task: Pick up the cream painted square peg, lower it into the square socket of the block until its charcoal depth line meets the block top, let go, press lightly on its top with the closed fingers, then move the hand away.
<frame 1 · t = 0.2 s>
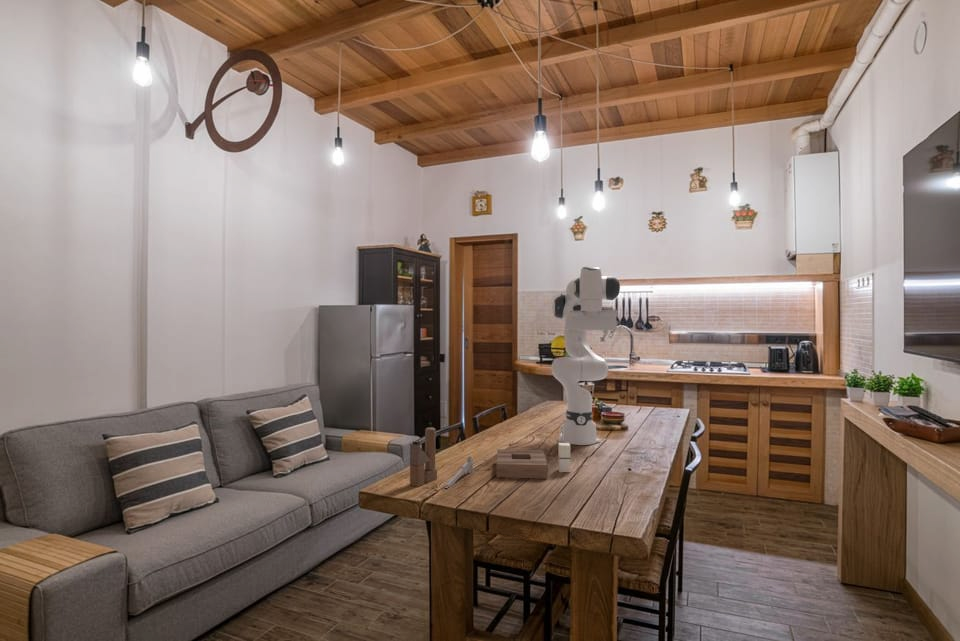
hand: (590, 341, 203), 47 cm above the table, tool pointing down, fingers open, 8 cm apart
socket block: (521, 470, 191), on the table
square peg: (564, 470, 190), on the table
caliper: (459, 481, 179), on the table
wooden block: (423, 482, 176), on the table
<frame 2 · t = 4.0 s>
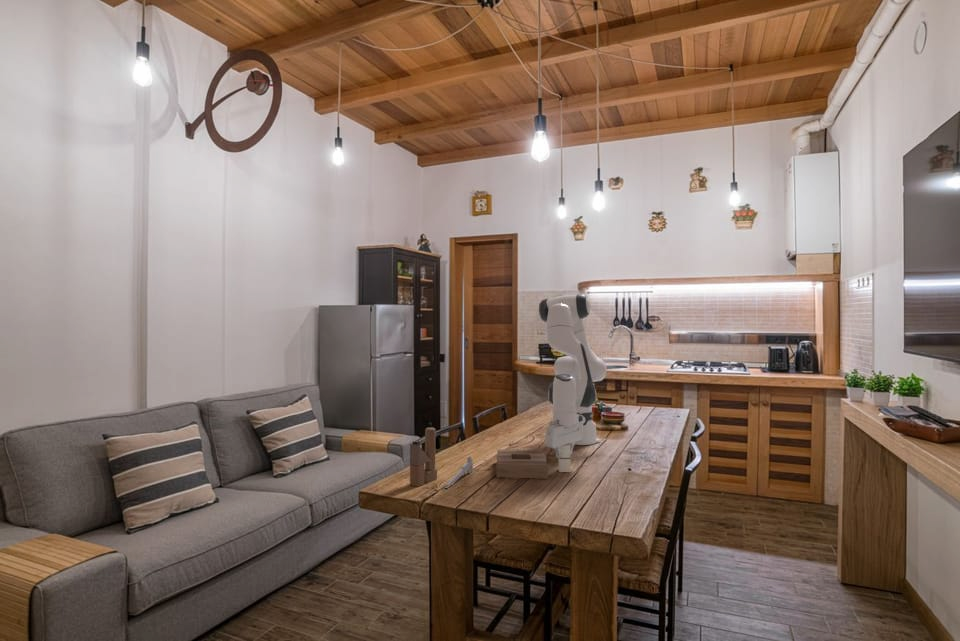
hand: (564, 455, 190), 6 cm above the table, tool pointing down, fingers closed on square peg, 6 cm apart
square peg: (564, 470, 190), on the table, touching gripper
everything else where it was.
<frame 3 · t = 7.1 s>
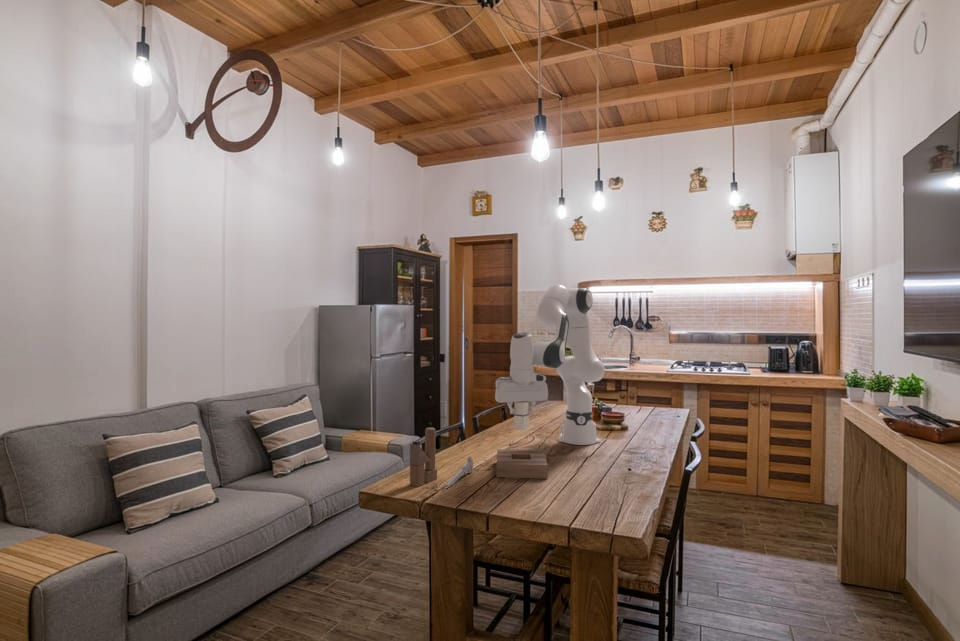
hand: (521, 413, 190), 21 cm above the table, tool pointing down, fingers closed on square peg, 6 cm apart
square peg: (521, 428, 190), point 16 cm above the table, touching gripper
everything else where it was.
when the fingers open (7 cm above the table, at t = 10.7 s): square peg stays where it is, resting in socket block.
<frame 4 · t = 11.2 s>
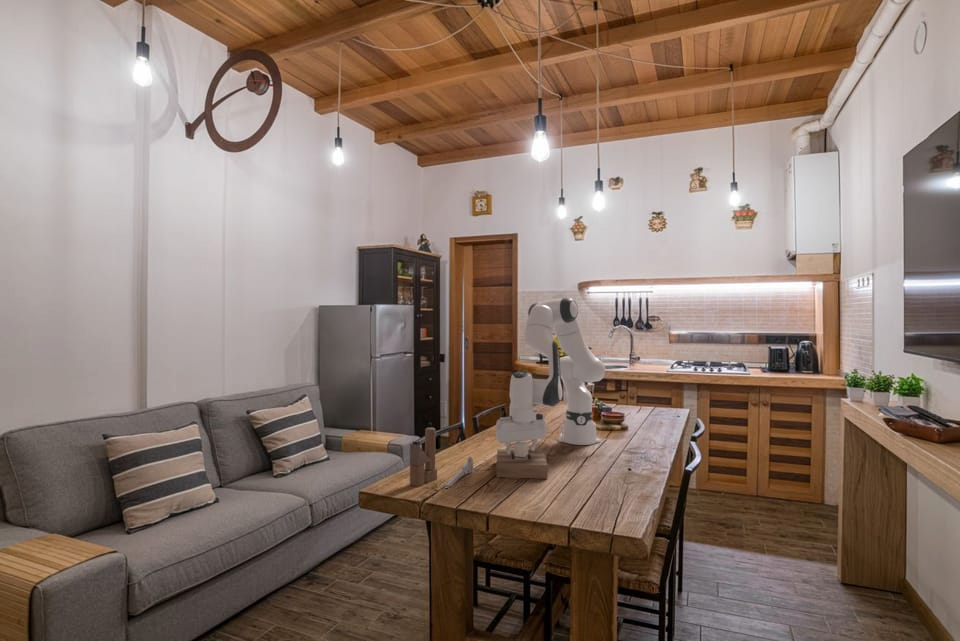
hand: (521, 452, 190), 7 cm above the table, tool pointing down, fingers open, 8 cm apart
square peg: (521, 470, 191), resting in socket block
everything else where it was.
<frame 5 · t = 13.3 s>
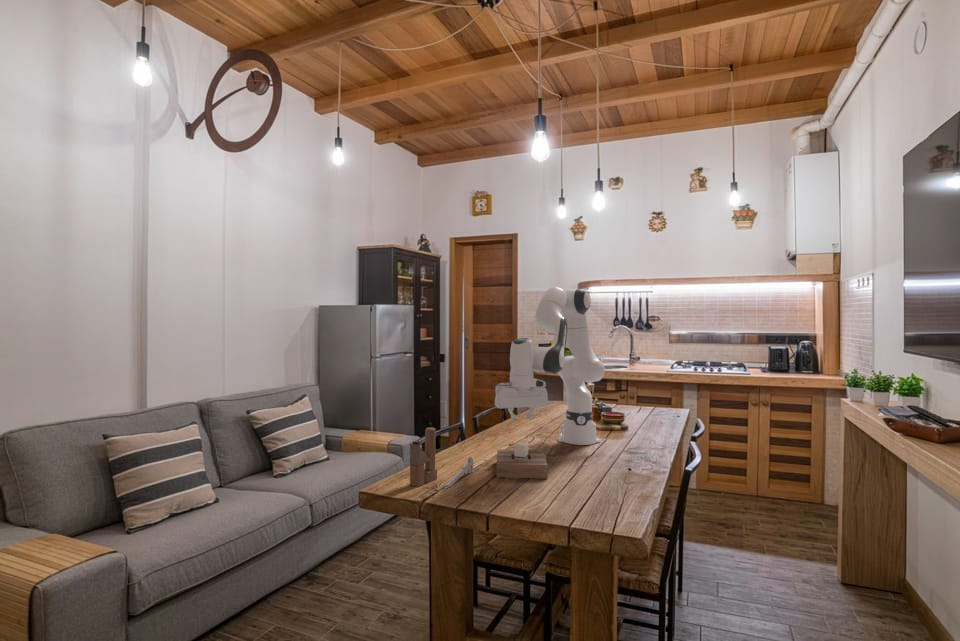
hand: (521, 419, 190), 19 cm above the table, tool pointing down, fingers open, 5 cm apart
nothing on the table moved.
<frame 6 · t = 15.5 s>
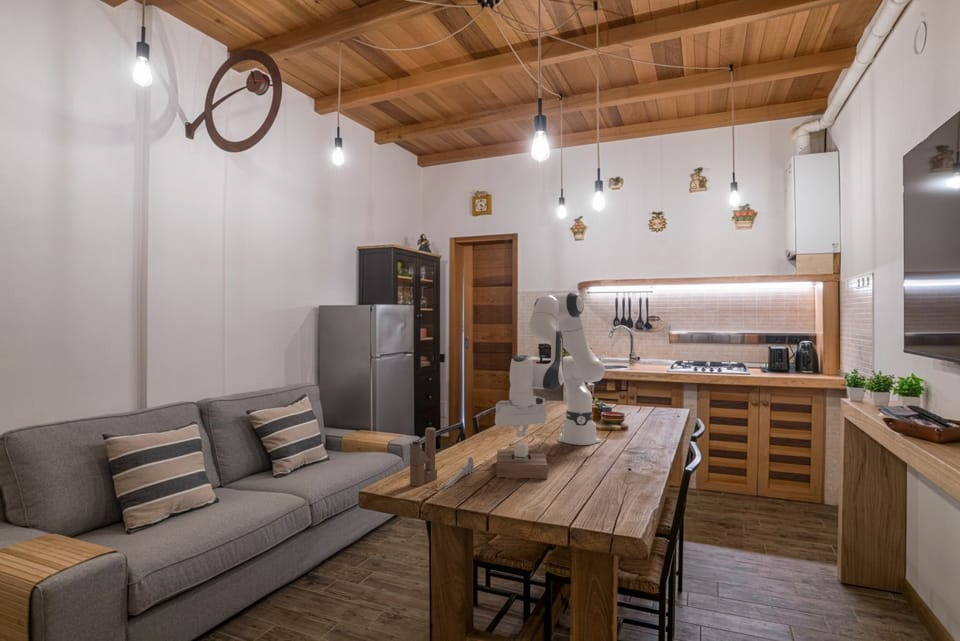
hand: (520, 436, 190), 13 cm above the table, tool pointing down, fingers closed
nothing on the table moved.
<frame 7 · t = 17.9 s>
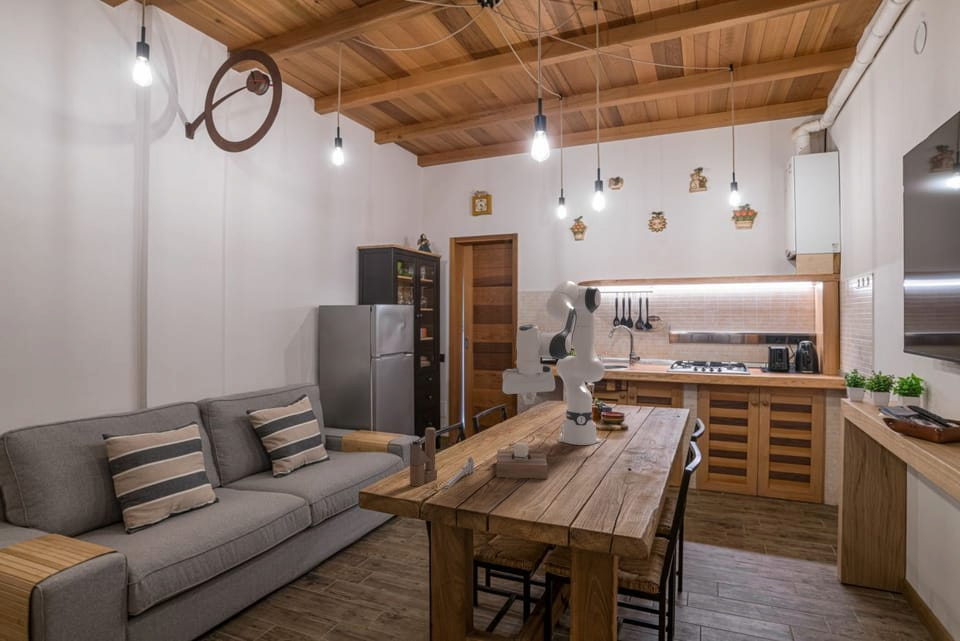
hand: (529, 404, 193), 24 cm above the table, tool pointing down, fingers closed
nothing on the table moved.
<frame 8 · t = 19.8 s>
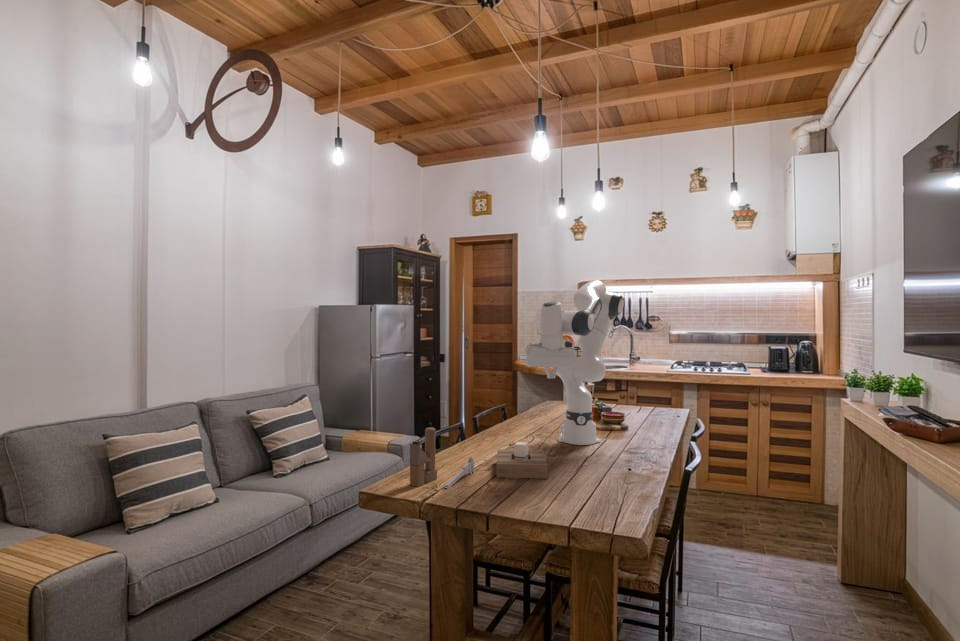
hand: (551, 378, 201), 33 cm above the table, tool pointing down, fingers closed
nothing on the table moved.
at the end: square peg 0.0 cm off-centre on the socket block, point 0.0 cm above the socket block's base; square peg tilted 0°; the gripper is holding nothing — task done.
